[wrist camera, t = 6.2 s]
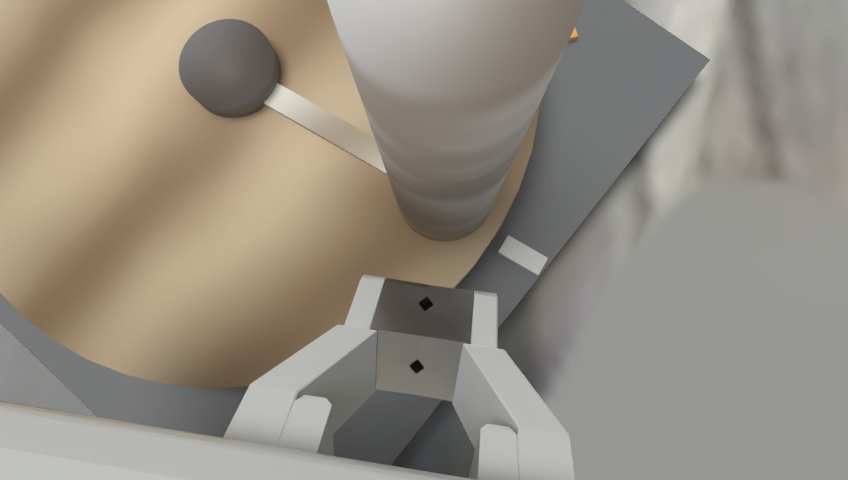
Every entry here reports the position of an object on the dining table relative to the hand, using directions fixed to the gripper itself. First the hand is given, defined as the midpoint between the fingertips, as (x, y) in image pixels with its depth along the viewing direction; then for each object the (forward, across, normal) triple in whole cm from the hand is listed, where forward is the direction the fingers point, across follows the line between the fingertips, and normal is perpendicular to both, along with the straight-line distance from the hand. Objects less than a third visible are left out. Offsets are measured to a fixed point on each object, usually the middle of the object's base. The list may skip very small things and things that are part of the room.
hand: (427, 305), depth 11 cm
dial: (+9, +8, -1) cm, 12 cm away
